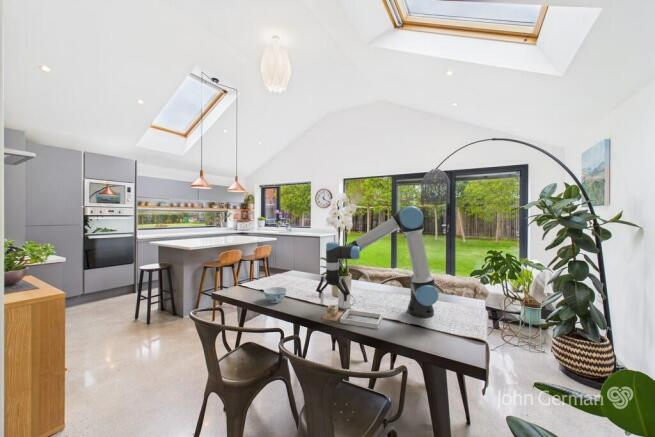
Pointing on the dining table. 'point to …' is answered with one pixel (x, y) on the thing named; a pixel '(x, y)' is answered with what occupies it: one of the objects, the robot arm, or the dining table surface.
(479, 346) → the dining table surface
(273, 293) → the chinaware
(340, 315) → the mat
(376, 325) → the bin
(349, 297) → the mug
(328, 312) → the beige round lump
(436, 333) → the dining table surface
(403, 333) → the dining table surface
